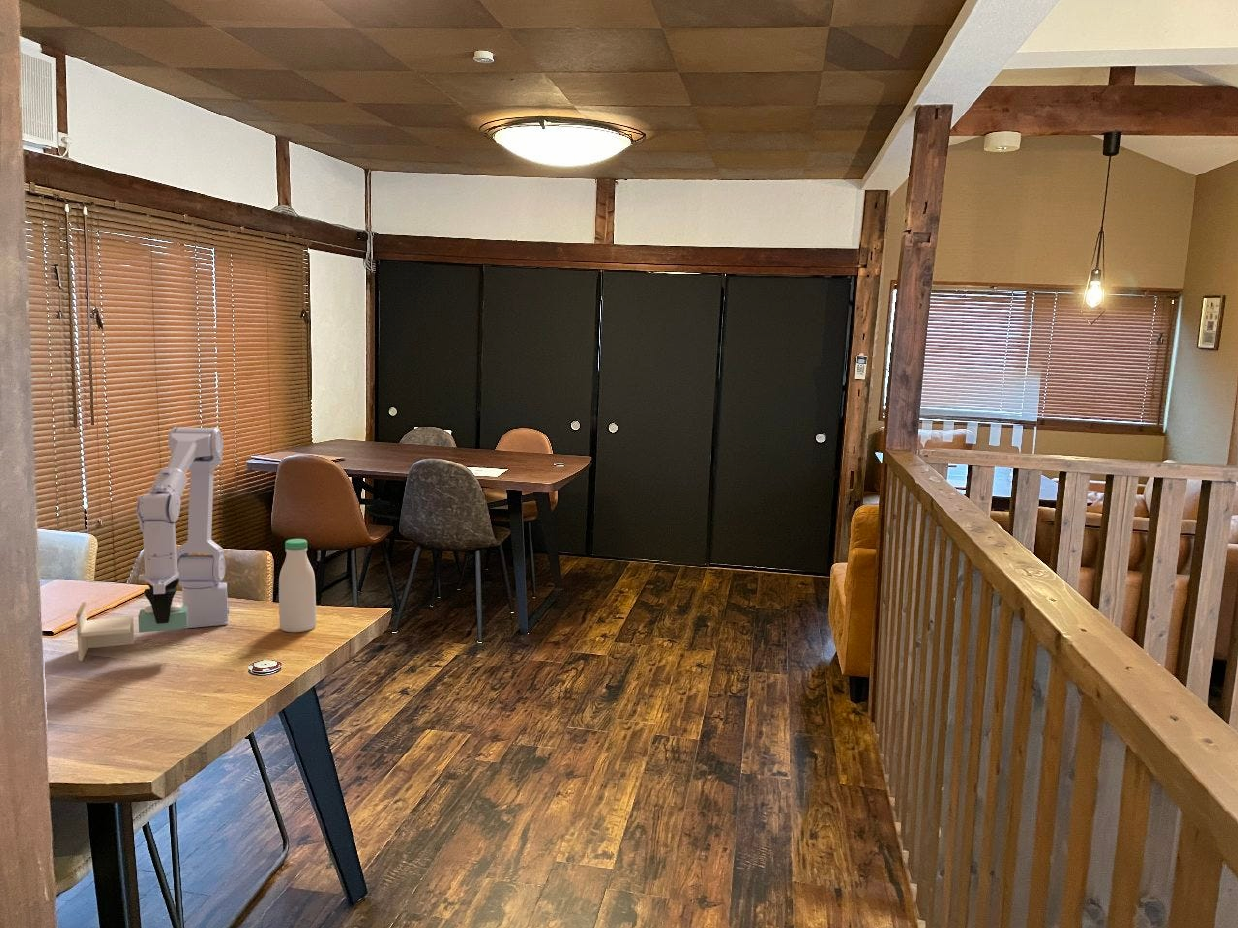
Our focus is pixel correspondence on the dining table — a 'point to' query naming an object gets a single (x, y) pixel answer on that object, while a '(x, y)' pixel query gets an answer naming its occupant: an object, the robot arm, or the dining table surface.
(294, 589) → the milk bottle
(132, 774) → the dining table surface
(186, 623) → the teal block
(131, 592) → the dining table surface
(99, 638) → the beige flanged peg
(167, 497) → the robot arm
